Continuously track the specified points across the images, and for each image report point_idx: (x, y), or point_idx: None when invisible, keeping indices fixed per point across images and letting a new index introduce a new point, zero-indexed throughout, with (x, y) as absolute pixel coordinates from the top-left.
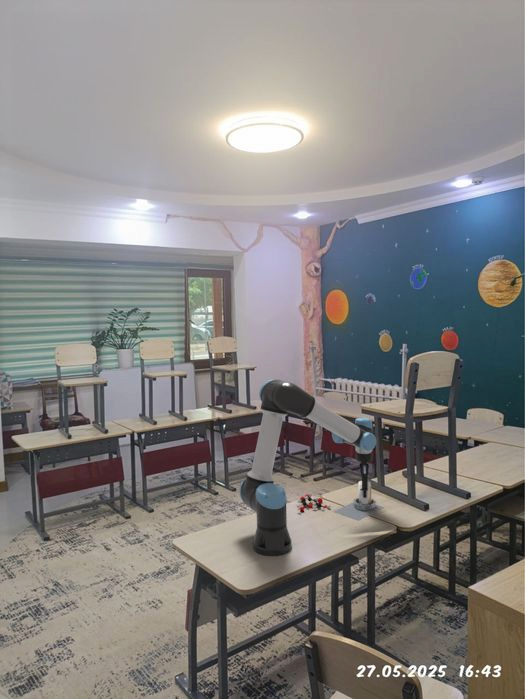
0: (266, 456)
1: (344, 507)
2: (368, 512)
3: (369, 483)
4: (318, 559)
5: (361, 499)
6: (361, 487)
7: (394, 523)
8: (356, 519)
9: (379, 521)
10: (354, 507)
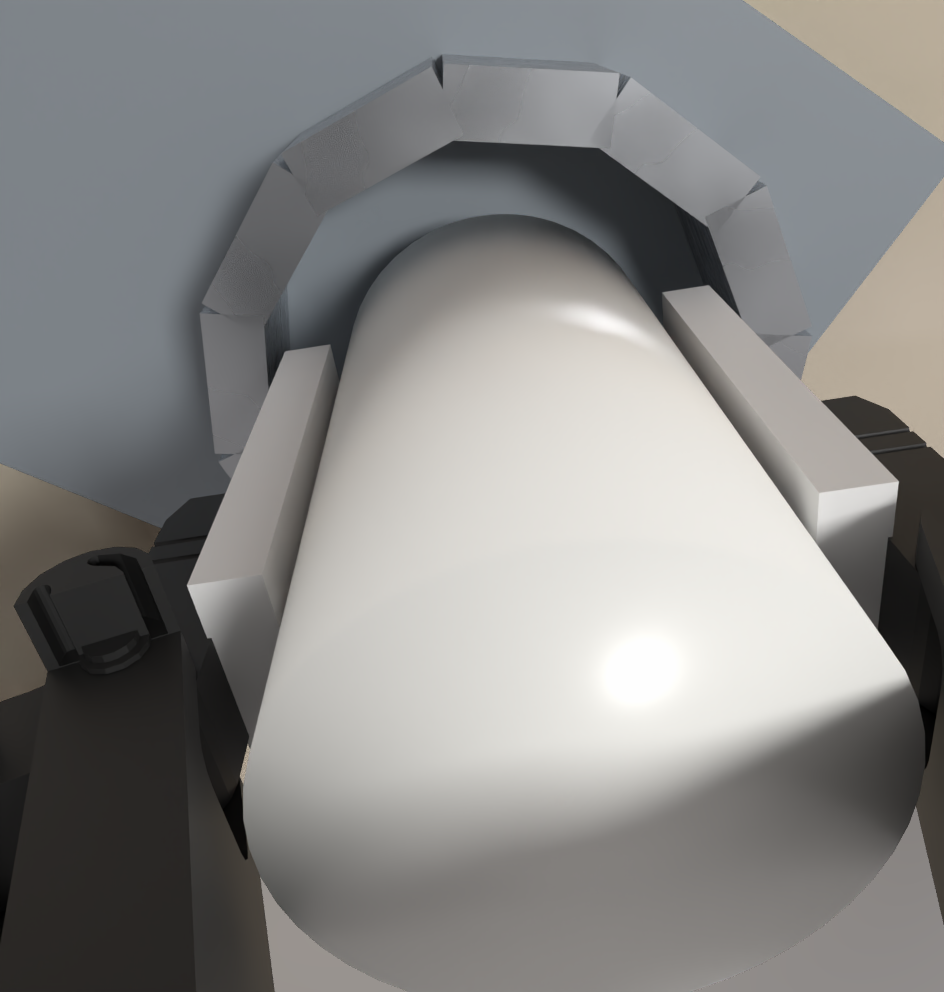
0: None
1: None
2: (190, 458)
3: (522, 989)
4: None
5: (343, 373)
6: (287, 615)
7: None
8: None
9: (7, 629)
10: (358, 99)
